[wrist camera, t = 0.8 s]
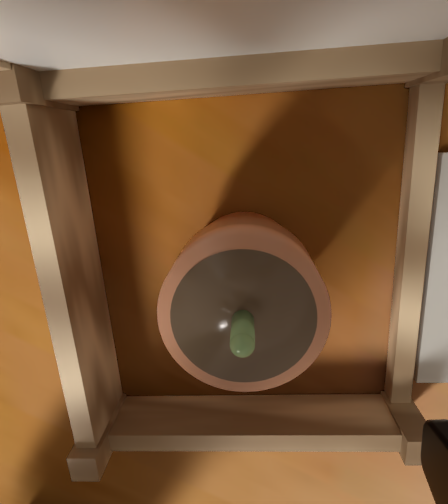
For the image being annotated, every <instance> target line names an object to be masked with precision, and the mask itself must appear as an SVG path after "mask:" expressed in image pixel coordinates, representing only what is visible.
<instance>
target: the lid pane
mask: <svg viewBox="0 0 448 504" xmlns="http://www.w3.org/2000/svg"><path fill="white" fill-rule="evenodd" d="M447 37H448V0H0V71H3V70H11V65H10V63H14V64H18V65H21V66H24V67H27V68H30V69H33V70H36V71H49V70H61V69H74V68H87V67H99V66H112V65H124V64H137V63H150V62H162V61H175V60H187V59H200V58H213V57H225V56H238V55H250V54H263V53H276V52H288V51H301V50H313V49H326V48H339V47H351V46H364V45H376V44H389V43H401V42H414V41H427V40H439V39H445V38H447Z"/></svg>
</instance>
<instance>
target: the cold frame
mask: <svg viewBox="0 0 448 504" xmlns="http://www.w3.org/2000/svg"><path fill="white" fill-rule="evenodd" d="M10 65H11V70H3V71H0V112H1V116H2V121H3V125H4V130H5V134H6V139H7V143H8V148H9V152H10V156H11V161H12V165H13V170H14V174H15V179H16V183H17V188H18V192H19V196H20V201H21V205H22V210H23V214H24V219H25V223H26V228H27V232H28V237H29V241H30V245H31V250H32V254H33V259H34V263H35V268H36V272H37V277H38V281H39V286H40V290H41V294H42V299H43V303H44V308H45V312H46V317H47V321H48V326H49V330H50V334H51V339H52V343H53V348H54V352H55V357H56V361H57V366H58V370H59V375H60V379H61V383H62V388H63V392H64V397H65V401H66V406H67V410H68V415H69V419H70V424H71V428H72V432H73V437H74V441H75V444H74V446H73V448H72V449H71V451H70V453H69V455H68V456H67V458H66V459H67V464H68V468H69V472H70V476H71V480H72V481H89V482H100V480H101V478H102V475H103V473H104V471H105V468H106V466H107V464H108V461H109V459H110V457H111V454H112V452H113V451H280V452H399V454H400V456H401V458H402V460H403V462H404V464H405V465H422V464H421V457H420V456H421V443H422V432H423V425H424V423H425V419H424V417H423V416H422V414H421V413H420V411H419V409H418V408H417V406H416V405H415V403H414V402H413V400H412V398H411V394H412V385H413V376H414V367H415V358H416V349H417V339H418V330H419V321H420V312H421V303H422V294H423V285H424V275H425V266H426V257H427V248H428V239H429V230H430V221H431V211H432V202H433V193H434V184H435V175H436V166H437V157H438V147H439V138H440V129H441V120H442V111H443V102H444V92H445V84H447V83H448V37H447V38H445V39H439V40H427V41H414V42H401V43H389V44H376V45H364V46H351V47H339V48H326V49H313V50H301V51H288V52H276V53H263V54H250V55H238V56H225V57H213V58H200V59H187V60H175V61H162V62H150V63H137V64H124V65H112V66H99V67H87V68H74V69H61V70H49V71H36V70H33V69H30V68H27V67H24V66H21V65H18V64H14V63H10ZM399 83H405V88H410V89H409V101H408V113H407V125H406V137H405V149H404V161H403V173H402V185H401V197H400V209H399V221H398V233H397V245H396V257H395V269H394V281H393V294H392V306H391V318H390V330H389V342H388V354H387V366H386V378H385V390H384V391H381V394H313V395H205V396H126V393H123V392H122V386H121V380H120V375H119V369H118V363H117V357H116V351H115V345H114V339H113V333H112V327H111V321H110V315H109V309H108V303H107V297H106V291H105V285H104V279H103V273H102V267H101V261H100V256H99V250H98V244H97V238H96V232H95V226H94V220H93V214H92V208H91V202H90V196H89V190H88V184H87V178H86V172H85V166H84V160H83V154H82V148H81V142H80V136H79V131H78V125H77V119H76V113H75V111H79V106H90V105H104V104H118V103H132V102H146V101H160V100H174V99H188V98H202V97H216V96H230V95H244V94H258V93H272V92H286V91H301V90H315V89H329V88H343V87H357V86H371V85H385V84H399Z"/></svg>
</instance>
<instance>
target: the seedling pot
mask: <svg viewBox="0 0 448 504" xmlns="http://www.w3.org/2000/svg"><path fill="white" fill-rule="evenodd" d="M157 321H158V326H159V331H160V334H161V337H162V340H163V342H164V344H165V346H166V348H167V350H168V351H169V353H170V354H171V356H172V357H173V358H174V360H175V361H176V362H177V363H178V364H179V365H180V366H181V367H182V368H183V369H184V370H185V371H187V372H188V373H189V374H191V375H192V376H194V377H195V378H196V379H198V380H200V381H202V382H204V383H206V384H209V385H211V386H214V387H217V388H220V389H224V390H229V391H236V392H254V391H261V390H267V389H271V388H274V387H277V386H280V385H282V384H284V383H287V382H289V381H290V380H292V379H294V378H296V377H297V376H298V375H300V374H301V373H302V372H304V371H305V370H306V369H307V368H308V367H309V366H310V365H311V364H312V363H313V362H314V361H315V359H316V358H317V357H318V356H319V354H320V352H321V351H322V349H323V347H324V345H325V343H326V340H327V338H328V334H329V330H330V326H331V303H330V298H329V294H328V291H327V289H326V286H325V284H324V282H323V280H322V278H321V276H320V274H319V272H318V270H317V269H316V267H315V265H314V263H313V261H312V259H311V257H310V255H309V254H308V252H307V250H306V248H305V247H304V246H303V244H302V243H301V242H300V241H299V240H298V239H297V237H296V236H295V235H293V234H292V233H291V232H290V231H288V230H287V229H285V228H284V227H282V226H281V225H280V224H278V223H277V222H276V221H274V220H273V219H271V218H269V217H267V216H264V215H262V214H258V213H253V212H235V213H231V214H227V215H225V216H222V217H220V218H218V219H216V220H215V221H213V222H212V223H210V224H209V225H208V226H206V227H204V228H203V229H201V230H200V231H198V232H197V233H196V234H195V235H194V236H193V237H192V238H191V239H190V240H189V241H188V242H187V243H186V245H185V246H184V247H183V249H182V251H181V253H180V254H179V256H178V258H177V259H176V261H175V263H174V265H173V266H172V268H171V270H170V272H169V273H168V275H167V277H166V278H165V280H164V282H163V285H162V287H161V290H160V294H159V298H158V304H157Z"/></svg>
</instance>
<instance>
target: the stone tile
mask: <svg viewBox="0 0 448 504" xmlns="http://www.w3.org/2000/svg"><path fill="white" fill-rule="evenodd" d="M414 380H415V381H416V383H448V152H438V160H437V169H436V178H435V187H434V196H433V205H432V214H431V224H430V233H429V242H428V251H427V260H426V269H425V278H424V287H423V297H422V306H421V315H420V324H419V333H418V342H417V351H416V360H415V370H414Z"/></svg>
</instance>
